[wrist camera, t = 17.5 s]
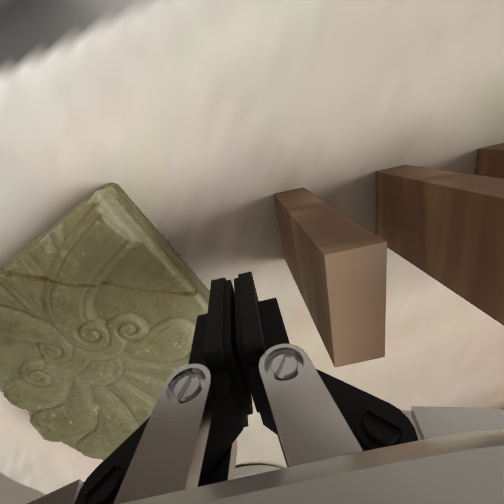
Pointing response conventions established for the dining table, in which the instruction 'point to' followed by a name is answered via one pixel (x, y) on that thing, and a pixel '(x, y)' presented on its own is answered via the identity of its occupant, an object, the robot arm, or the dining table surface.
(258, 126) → the dining table surface
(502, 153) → the domino
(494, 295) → the domino
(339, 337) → the domino
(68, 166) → the dining table surface
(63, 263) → the decorative tile
